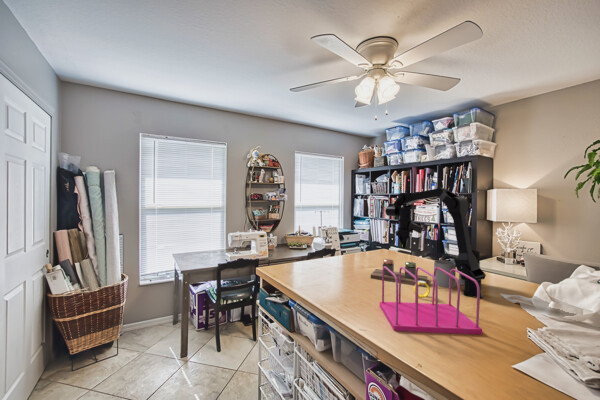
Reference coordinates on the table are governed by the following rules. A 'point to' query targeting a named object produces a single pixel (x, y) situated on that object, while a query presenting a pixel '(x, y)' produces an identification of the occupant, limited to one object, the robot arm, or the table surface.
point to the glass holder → (477, 255)
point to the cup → (443, 277)
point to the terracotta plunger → (388, 261)
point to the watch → (427, 289)
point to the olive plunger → (410, 264)
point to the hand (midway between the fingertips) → (404, 248)
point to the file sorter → (429, 310)
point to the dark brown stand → (405, 277)
